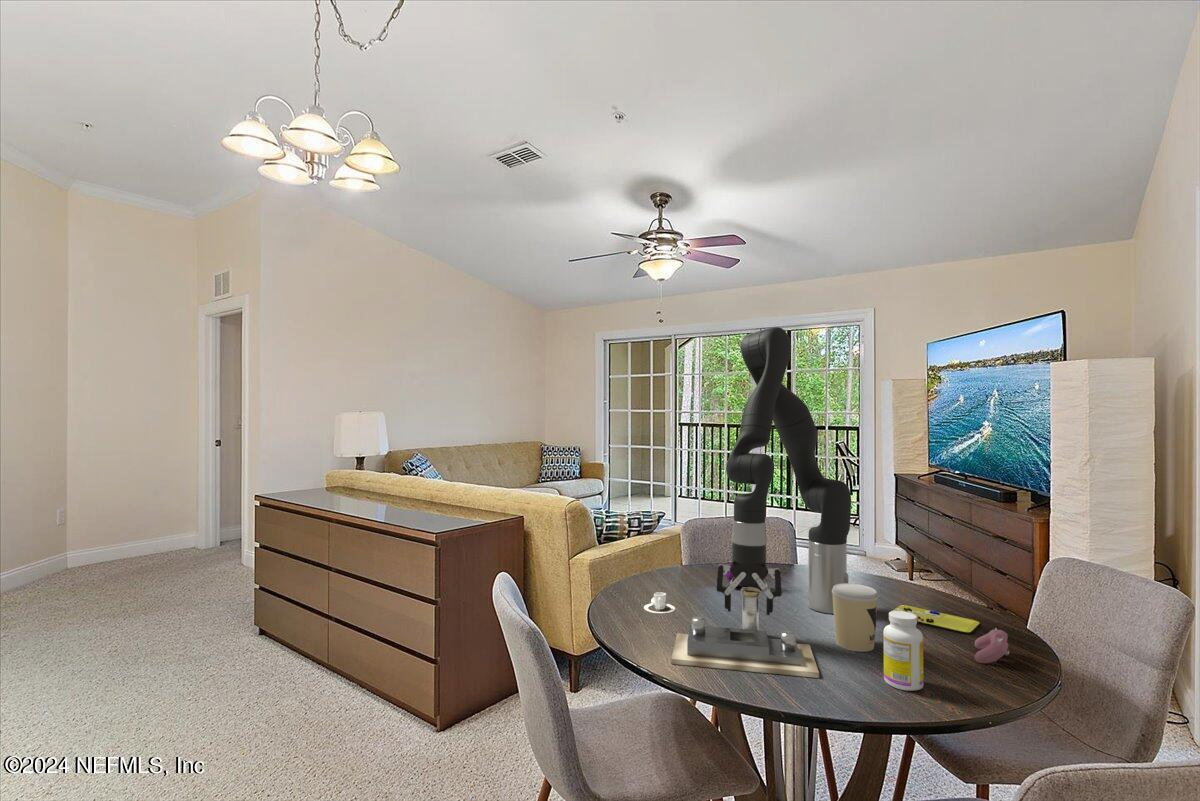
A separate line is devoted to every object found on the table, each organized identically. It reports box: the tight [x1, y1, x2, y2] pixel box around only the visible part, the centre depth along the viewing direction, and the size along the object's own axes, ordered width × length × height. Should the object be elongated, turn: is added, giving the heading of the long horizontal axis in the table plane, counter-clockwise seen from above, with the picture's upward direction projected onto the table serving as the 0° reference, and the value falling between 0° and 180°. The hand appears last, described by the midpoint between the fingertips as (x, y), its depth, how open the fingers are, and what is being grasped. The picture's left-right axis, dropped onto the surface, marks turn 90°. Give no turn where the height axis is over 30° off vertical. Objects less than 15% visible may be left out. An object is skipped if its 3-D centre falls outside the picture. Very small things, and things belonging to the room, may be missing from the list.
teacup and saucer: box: [643, 591, 676, 614], centre depth 153 cm, size 9×8×4 cm
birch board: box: [670, 632, 820, 679], centre depth 123 cm, size 28×14×1 cm, turn 78°
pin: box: [740, 586, 761, 631], centre depth 136 cm, size 4×4×10 cm
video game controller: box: [974, 627, 1010, 664], centre depth 123 cm, size 10×5×7 cm, turn 148°
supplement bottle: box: [882, 610, 925, 692], centre depth 111 cm, size 7×7×13 cm
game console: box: [891, 604, 980, 635], centre depth 146 cm, size 18×11×2 cm, turn 47°
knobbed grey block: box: [687, 616, 801, 666], centre depth 123 cm, size 22×9×6 cm, turn 78°
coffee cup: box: [832, 583, 879, 653], centre depth 130 cm, size 9×9×12 cm
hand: (748, 612), depth 136 cm, fingers open, 8 cm apart
